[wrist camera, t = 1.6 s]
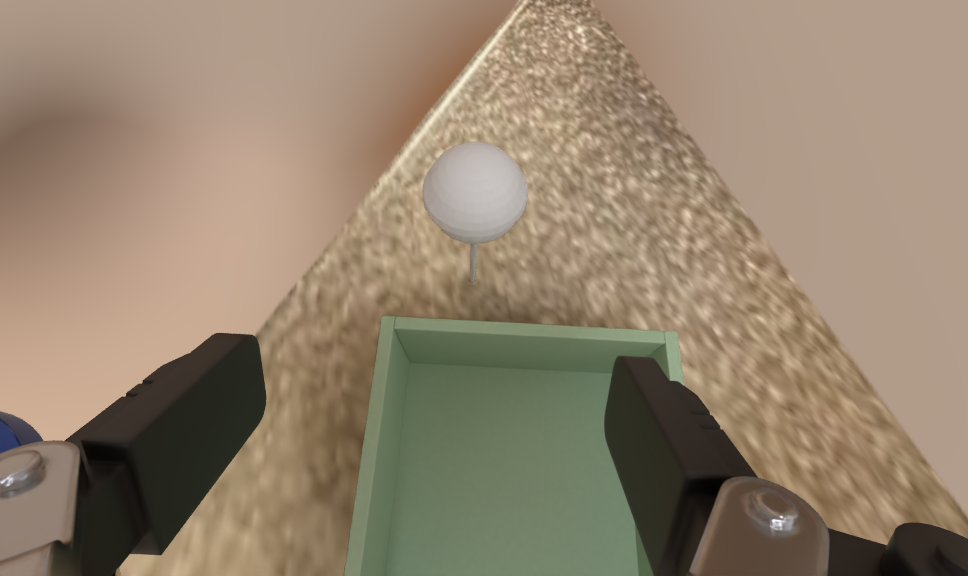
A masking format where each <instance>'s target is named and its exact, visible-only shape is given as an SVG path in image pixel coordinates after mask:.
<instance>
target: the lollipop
mask: <svg viewBox="0 0 968 576" xmlns="http://www.w3.org/2000/svg"><path fill="white" fill-rule="evenodd" d="M526 202H527V182H526V179H525V177H524V174H523V173H522V171H521V170H520V168H519V167H518V166H517V164H516V163H515V162H514V161H513V159H512V158H511V157H510V156H509V155H508V154H507V153H506V152H504V151H503V150H501V149H500V148H498V147H495V146H493V145H491V144H487V143H483V142H467V143H462V144H459V145H457V146H454V147H452V148H450V149H448V150H447V151H446V152H444V153H443V154H442V155H441V156H440V157H439V158H438V159H437V161H436V162H435V163H434V164H433V166H432V167H431V168H430V170H429V171H428V173H427V175H426V177H425V179H424V184H423V203H424V206H425V209H426V211H427V213H428V215H429V216H430V217H431V219H432V220H433V221H434V222H435V223H436V225H437V226H438V227H439V228H440V229H441V231H443V232H444V233H445V234H446V235H448V236H450V237H451V238H453V239H455V240H458V241H461V242H464V243H471V253H470V281H471V282H475V280H476V258H477V244H480V243H485V242H490V241H493V240H495V239H497V238H499V237H501V236H502V235H504V234H505V233H507V232H508V231H509V230H510V229H511V228H512V227H513V225H514V224H515V223H516V222H517V220H518V219H519V217H520V216H521V214H522V213H523V211H524V209H525V206H526Z"/></svg>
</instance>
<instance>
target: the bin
mask: <svg viewBox="0 0 968 576" xmlns="http://www.w3.org/2000/svg"><path fill="white" fill-rule="evenodd" d="M618 356H636V357H652V358H654V359H655V360H656V362H657V363H658V365H659V366H660V367H661V369H662V370H663V372H664V373H665V375H666V376H667V378H668V379H669V381H678V382H680V383H681V384H682V385H684V380H683V372H682V365H681V357H680V350H679V342H678V335H677V332H676V331H655V330H637V329H619V328H601V327H582V326H564V325H546V324H527V323H509V322H491V321H473V320H454V319H436V318H418V317H399V316H396V317H394V316H382V318H381V325H380V331H379V338H378V345H377V352H376V359H375V365H374V372H373V379H372V386H371V393H370V399H369V406H368V413H367V420H366V427H365V433H364V440H363V447H362V454H361V461H360V467H359V474H358V481H357V488H356V495H355V501H354V508H353V515H352V522H351V529H350V535H349V542H348V549H347V556H346V563H345V569H344V576H654V575H653V572H652V569H651V566H650V564H649V561H648V558H647V555H646V552H645V550H644V547H643V544H642V541H641V538H640V536H639V533H638V530H637V527H636V524H635V521H634V519H633V516H632V513H631V510H630V507H629V505H628V502H627V499H626V496H625V493H624V491H623V488H622V485H621V482H620V479H619V477H618V474H617V471H616V468H615V465H614V463H613V460H612V457H611V454H610V451H609V448H608V446H607V443H606V439H605V432H604V416H605V410H606V404H607V399H608V393H609V388H610V382H611V377H612V371H613V366H614V362H615V360H616V358H617V357H618Z"/></svg>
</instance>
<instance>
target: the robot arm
mask: <svg viewBox="0 0 968 576" xmlns="http://www.w3.org/2000/svg"><path fill="white" fill-rule="evenodd" d="M265 406H266V390H265V383H264V376H263V369H262V362H261V355H260V348H259V343H258V340H257V338H256V337H255V336H253V335H245V334H228V333H216V334H214V335H212V336H211V337H210V338H208V339H207V340H206V341H204V342H203V343H202V344H201V345H200V346H198V347H197V348H196V349H194V350H193V351H192V352H191V353H189V354H186V355H184V356H182V357H180V358H178V359H175V360H173V361H171V362H169V363H167V364H165V365H163V366H161V367H160V368H158V369H157V370H156V371H154V372H153V373H152V374H151V375H149V376H148V377H147V378H145V379H144V380H143V383H142V384H138V385H136V386H135V387H134V388H132V389H131V390H130V391H128V392H127V393H126V396H125V397H121V398H119V399H118V400H117V401H115V402H114V403H113V404H112V405H110V406H109V407H108V408H106V409H105V410H104V411H102V412H101V413H100V414H99V415H97V416H96V417H95V418H93V419H92V420H91V421H89V423H87V424H86V425H84V426H83V427H82V428H80V429H79V430H78V431H76V432H75V433H74V434H73V435H71V436H70V437H69V438H67V439H66V440H65V441H54V440H53V441H43V442H36V443H32V444H27V445H23V446H20V447H17V448H13V449H11V450H8V451H5V452H2V453H0V576H122V575H121V572H120V570H119V566H120V565H121V564H122V563H123V562H124V560H125V559H126V558H127V557H128V555H129V554H148V555H162V553H163V552H164V551H165V549H166V548H167V547H168V545H169V544H170V543H171V541H172V540H173V539H174V537H175V536H176V535H177V533H178V532H179V531H180V529H181V528H182V527H183V525H184V524H185V523H186V521H187V520H188V519H189V517H190V516H191V515H192V513H193V512H194V510H195V509H196V508H197V506H198V505H199V504H200V502H201V501H202V500H203V498H204V497H205V496H206V494H207V493H208V492H209V490H210V489H211V488H212V486H213V485H214V484H215V482H216V481H217V480H218V478H219V477H220V476H221V474H222V473H223V471H224V470H225V469H226V467H227V466H228V465H229V463H230V462H231V461H232V459H233V458H234V457H235V455H236V454H237V453H238V451H239V450H240V449H241V447H242V446H243V445H244V443H245V442H246V441H247V439H248V438H249V437H250V435H251V434H252V432H253V431H254V430H255V428H256V427H257V426H258V424H259V423H260V421H261V419H262V417H263V414H264V411H265ZM604 432H605V439H606V443H607V446H608V448H609V451H610V454H611V457H612V460H613V463H614V465H615V468H616V471H617V474H618V477H619V479H620V482H621V485H622V488H623V491H624V493H625V496H626V499H627V502H628V505H629V507H630V510H631V513H632V516H633V519H634V521H635V524H636V527H637V530H638V533H639V536H640V538H641V541H642V544H643V547H644V550H645V552H646V555H647V558H648V561H649V564H650V566H651V569H652V572H653V575H654V576H968V539H967V538H965V537H963V536H961V535H958V534H956V533H953V532H951V531H949V530H946V529H943V528H940V527H936V526H933V525H929V524H923V523H905V524H902V525H900V526H898V527H897V528H896V529H895V531H894V533H893V535H892V537H891V539H890V541H889V543H888V545H884V544H880V543H877V542H873V541H870V540H866V539H863V538H860V537H856V536H853V535H849V534H846V533H842V532H839V531H836V530H832V529H829V528H827V526H826V524H825V523H824V521H823V519H822V518H821V517H820V515H819V514H818V513H817V512H816V511H815V510H814V509H813V508H812V507H811V506H810V505H809V504H808V503H807V502H806V501H805V500H803V499H802V498H800V497H799V496H798V495H796V494H795V493H793V492H791V491H790V490H788V489H786V488H784V487H782V486H780V485H778V484H775V483H773V482H770V481H767V480H764V479H761V478H758V477H757V475H756V474H755V473H754V471H753V470H752V469H751V467H750V466H749V465H748V463H747V462H746V461H745V459H744V458H743V456H742V455H741V454H740V452H739V451H738V450H737V448H736V447H735V446H734V444H733V443H732V442H731V440H730V439H729V438H728V436H727V435H726V433H725V432H724V431H723V430H720V425H719V424H718V423H717V421H716V420H715V419H714V417H713V416H712V415H710V412H709V410H708V409H707V408H706V406H705V405H704V404H703V402H702V401H701V400H700V398H699V397H698V396H697V395H696V394H695V393H693V392H692V391H691V390H689V389H688V388H686V387H685V386H684V385H682V384H681V383H680V382H678V381H669V379H668V378H667V376H666V375H665V373H664V372H663V370H662V369H661V367H660V366H659V365H658V363H657V362H656V360H655V359H654V358H652V357H636V356H618V357H617V358H616V360H615V362H614V366H613V371H612V377H611V382H610V388H609V393H608V399H607V404H606V410H605V416H604Z"/></svg>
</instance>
